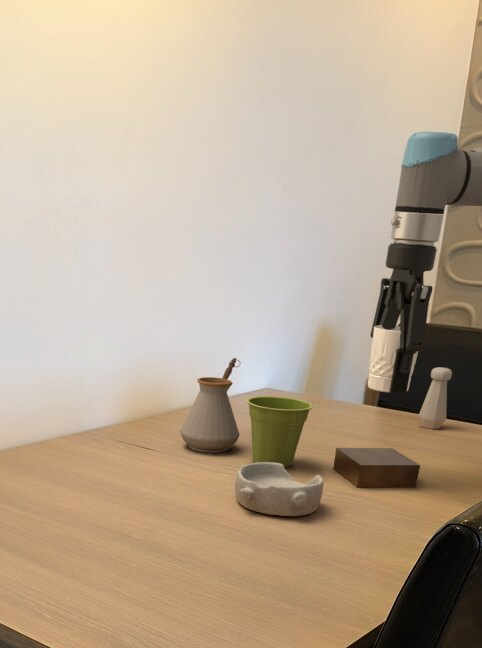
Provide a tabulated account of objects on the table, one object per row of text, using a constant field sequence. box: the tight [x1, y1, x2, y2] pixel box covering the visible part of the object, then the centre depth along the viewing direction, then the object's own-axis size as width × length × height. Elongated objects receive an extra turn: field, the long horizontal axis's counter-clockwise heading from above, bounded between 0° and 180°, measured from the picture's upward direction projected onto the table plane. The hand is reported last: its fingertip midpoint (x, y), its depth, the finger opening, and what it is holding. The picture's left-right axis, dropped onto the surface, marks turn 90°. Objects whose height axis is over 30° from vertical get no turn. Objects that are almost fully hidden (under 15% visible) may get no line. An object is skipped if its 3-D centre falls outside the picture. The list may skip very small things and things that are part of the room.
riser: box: [332, 447, 421, 489], centre depth 147 cm, size 11×11×4 cm
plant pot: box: [246, 395, 314, 469], centre depth 150 cm, size 12×12×11 cm
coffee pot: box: [179, 357, 242, 453], centre depth 161 cm, size 21×12×15 cm, turn 160°
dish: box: [234, 462, 324, 517], centre depth 130 cm, size 14×14×5 cm
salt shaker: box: [418, 366, 453, 430], centre depth 184 cm, size 6×6×13 cm
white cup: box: [367, 325, 419, 393], centre depth 140 cm, size 8×8×10 cm
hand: (387, 387), depth 142 cm, fingers closed on white cup, 8 cm apart
